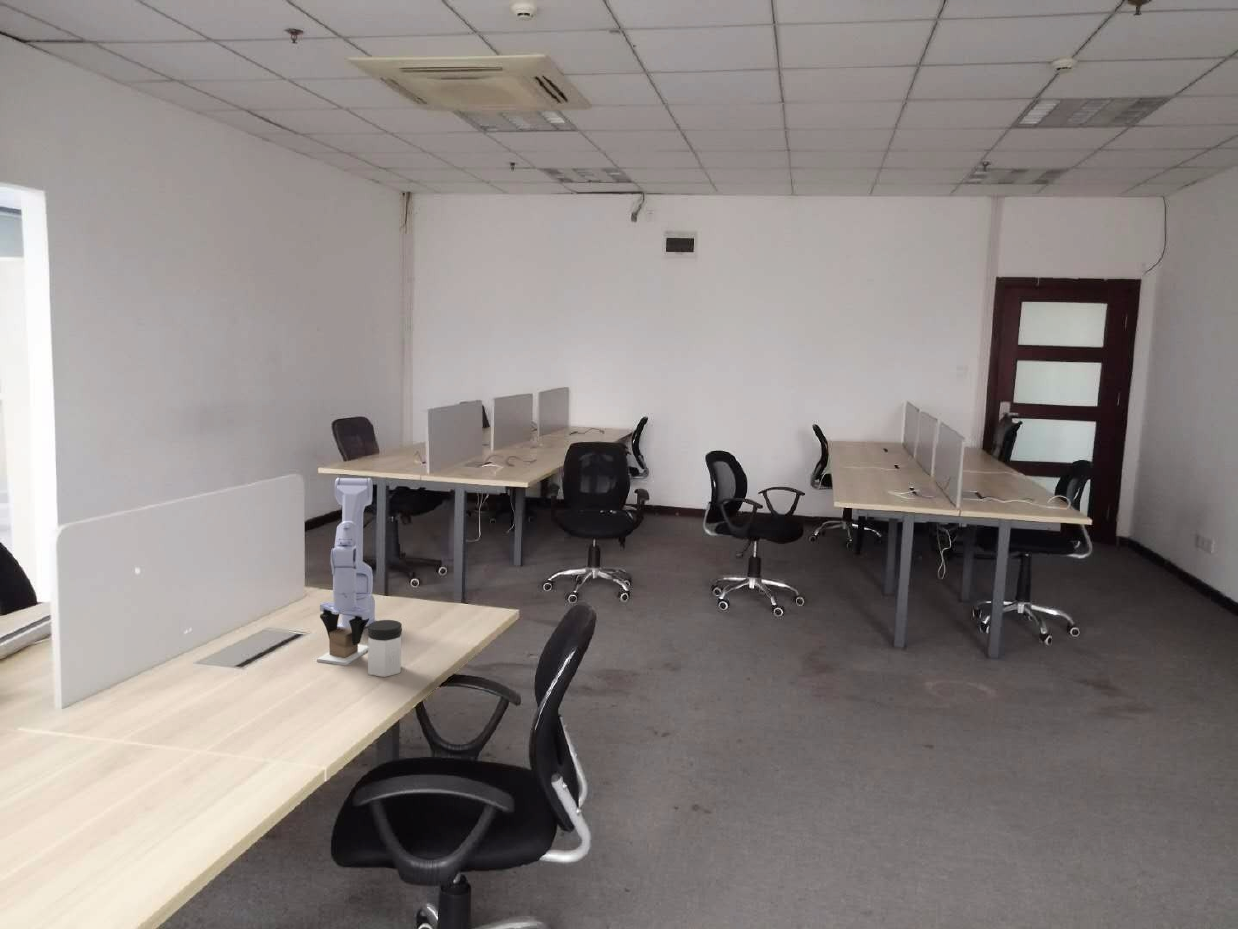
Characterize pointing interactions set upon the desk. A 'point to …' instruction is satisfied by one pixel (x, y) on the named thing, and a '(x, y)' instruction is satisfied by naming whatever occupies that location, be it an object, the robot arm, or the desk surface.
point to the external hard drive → (340, 660)
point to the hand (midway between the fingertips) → (344, 641)
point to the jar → (384, 648)
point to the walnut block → (342, 642)
